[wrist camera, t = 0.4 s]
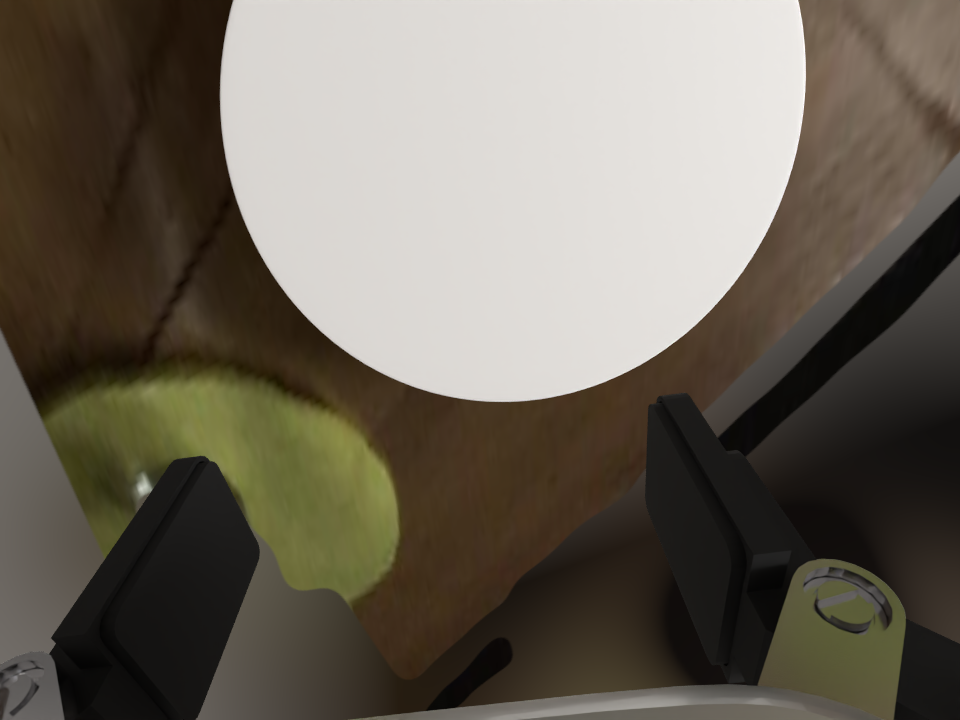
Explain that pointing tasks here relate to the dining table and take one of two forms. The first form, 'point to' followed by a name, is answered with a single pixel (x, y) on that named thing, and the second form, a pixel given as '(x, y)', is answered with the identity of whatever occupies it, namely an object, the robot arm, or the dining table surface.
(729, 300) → the dining table surface
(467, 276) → the plate stack
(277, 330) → the dining table surface
